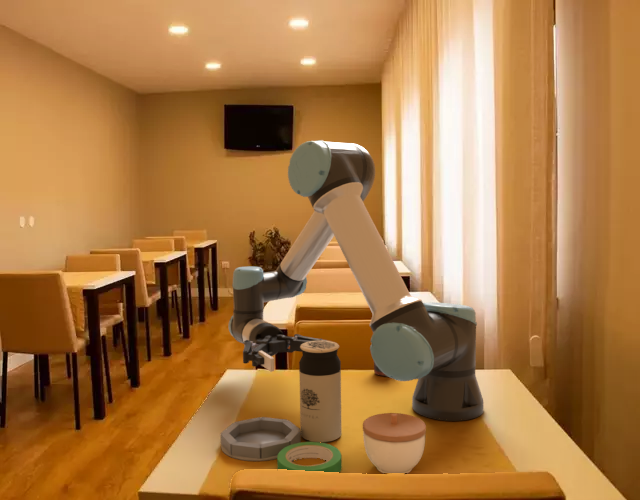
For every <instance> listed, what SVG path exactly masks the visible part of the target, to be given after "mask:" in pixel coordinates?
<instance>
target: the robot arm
mask: <svg viewBox="0 0 640 500" xmlns="http://www.w3.org/2000/svg"><path fill="white" fill-rule="evenodd" d="M287 178H288V179H287V180H288V183H289V186H290V188H291V189H292V190H293V192H294V193H295V194H297V195H299V196H301V197H304V198H308V201H309V202H310V204H311V208H313V210H314V211H313V212H312V214H311V216H310V218H309V219H308V220H307V222H306V224H305V225H304V227H303V228H302V229H301V231H300V233H299V235H297V238H296V239H295V241H294V242H293V243H292V245H291V247H290V248H289V250H288V252H287V253H286V254H285V255H284V257H283V258H282V261H281V262H280V263H279V265H278V266H277V268H276V270H272V271H267V272H265V271H264V270H263V268H262V267H260V266H254V265H253V266H249V265H248V266H239V267H236V268H235V269H234V271H233V272H232V273H233V274H232V285H231V286H232V299H233V310H232V311H233V312H232V316H230V319H229V321H228V331H229V333H230V336H232V337H233V338H234V340H236V341H237V342H239V343H241V344H243V346H244V348H243V351H242V360H243V361H242V363H243V364H249V363H250V362H251V366H252V367H258V366H259V365H260V366H261V367H264V368H265V369H266V370H268V371H269V372H271V373H272V372H275V358H274V357H273V356H275V355H277V354H279V353H281V354H282V353H291V354H292V353H294V352H300V353H302V349H301V348H300V346H301V344H303V343H305V342H309V341H319V340H323V341H328V339H323V338H315V337H312V336H311V337H310V336H305V335H304V336H303V335H301V334H298V333H296V334H294V335H293V336H289V335H288V336H287V335H285V334H284V333H283V331H282V330H281V329H280V328H279V327H278V326H276V325H274V324H272V323H270V322H269V321H266V320H265V319H264V306H265V304H264V303H267V302H272V301H277V300H282V299H283V300H284V299H290V298H291V299H292V298H294V297H297V296H300V295H301V294H303V293H304V292H305V290H306V289H307V283H308V280H307V275H308V274H309V273H310V272H311V270H312V269H313V267H314V265H316V263H317V262H318V260H319V258H320V257H321V256H322V255H323V253H324V251H326V248H327V247H328V246H329V245H330V242H331V241H332V240H333V238H335V240H336V242H337V244H338V246H339V248H340V250H341V252H342V254H343V256H344V258H345V260H346V263H347V264H348V267H349V269H350V271H351V272H352V275H353V276H354V279H355V281H356V282H357V285H358V287H359V290H360V291H361V293H362V295H363V297H364V299H365V302H366V304H367V305H368V307H369V310H370V311H371V313H372V314H371V315H372V317H371V318H370V322H369V327H370V329H371V331H372V335H371V338H370V343H371V345H370V347H369V350H370V354H371V357H372V359H373V363H374V362H375V364H376V365H377V367H378V368H379V369H380V370H381V371H382V372H383V373H384V374H385V375H387V376H386V377H389V378H390V379H393V380H395V381H398V382H409V381H412V380H417V383H416V386H415V389H414V391H413V393H412V397H411V398H412V399H411V400H412V403H411V405H412V410H413V411H414V412H415V413H416V414H418V415H421V416H422V417H425V418H430V419H432V420H438V421H446V422H456V421H457V422H459V421H461V422H462V421H469V420H473V419H476V418H478V417H480V416H481V415H483V413H484V398H483V395H482V392H481V389H480V386H479V382H478V380H477V379H478V378H477V376H476V364H477V363H476V355H477V353H476V351H477V350H476V349H477V347H476V345H477V325H478V323H477V315H476V311H475V309H474V308H473V307H472V306H469V305H466V304H465V305H464V304H458V303H446V302H435V301H434V302H431V301H430V302H423V301H422V299H420V298H417V297H415V296H412V295H411V294H410V291H409V290H408V288H407V285H406V283H405V281H404V279H403V278H402V276H401V274H400V271H399V270H398V268H397V266H396V263H395V262H394V260H393V257H392V256H391V254H390V252H389V250H388V248H387V247H386V246H387V245H385V242H384V241H383V238H382V236H381V234H380V232H379V231H378V229H377V226H376V225H375V223H374V220H373V219H372V217H371V215H370V213H369V211H368V209H367V207H366V205H365V203H364V202H365V200H366V199H367V197H368V196H369V194H370V191H371V190H372V188H373V185H374V182H375V178H376V166H375V162H374V159H373V157H372V156H371V154H370V153H369V151H368V150H367V149H365V147H363V146H362V145H359V144H357V143H352V142H334V141H324V140H323V139H319V140H311V141H310V140H309V141H308V140H307V141H305V142H302V143H301V144H300V145H299V146H297V147H296V148H295V150H294V151H293V152H292V154H291V157H290V159H289V165H288V167H287Z"/></svg>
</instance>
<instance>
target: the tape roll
mask: <svg viewBox="0 0 640 500" xmlns="http://www.w3.org/2000/svg"><path fill="white" fill-rule="evenodd" d="M302 458H304V459H317V458H320V459H319V460H322V459H323V460H322V461H325V460H326V461H325V462H322V463H316V464H312V465H302V464H297V463H295V461H294V460H296V461H298V460H297V459H299V460H303V459H302ZM276 460H277V463H276V464H277V470H278V469H287V470H305V471H324V472H340V473H341V471H342V469H343V468H342V460H343V459H342V452H341V451H340V449H338V448H337V447H335V446H333V445H332V444H328V443H327V442H321V443H320V442H311V441H304V442H301V443H296V444H292V445H289V446H287V447H285V448H283V449H282V450H281V451H280V452H279V453H278V456H277V459H276ZM293 461H294V462H293ZM341 468H342V469H341Z"/></svg>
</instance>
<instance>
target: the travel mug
mask: <svg viewBox="0 0 640 500" xmlns="http://www.w3.org/2000/svg"><path fill="white" fill-rule="evenodd" d="M323 340H324V339H322V340H319V341H309V342H305V343H303V344H301V346H300V348H301V349H302V352H301V354H302V356H301V357H300V359H299V362H298V365H299V367H298V368H299V369H298V371H299V413H300V414H299V417H300V418H299V421H300V433H301V438H302V439H304V440H306V441H308V442H321V443H329V442H333V441H335V440H337V439H339V438H340V437H341V436H342V380H341V379H342V373H341V371H342V368H341V365H342V363H341V359H340V357H339V356H338V350H339V348H340V345H339V343H337V342H335V341H332V340H327V341H323Z"/></svg>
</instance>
